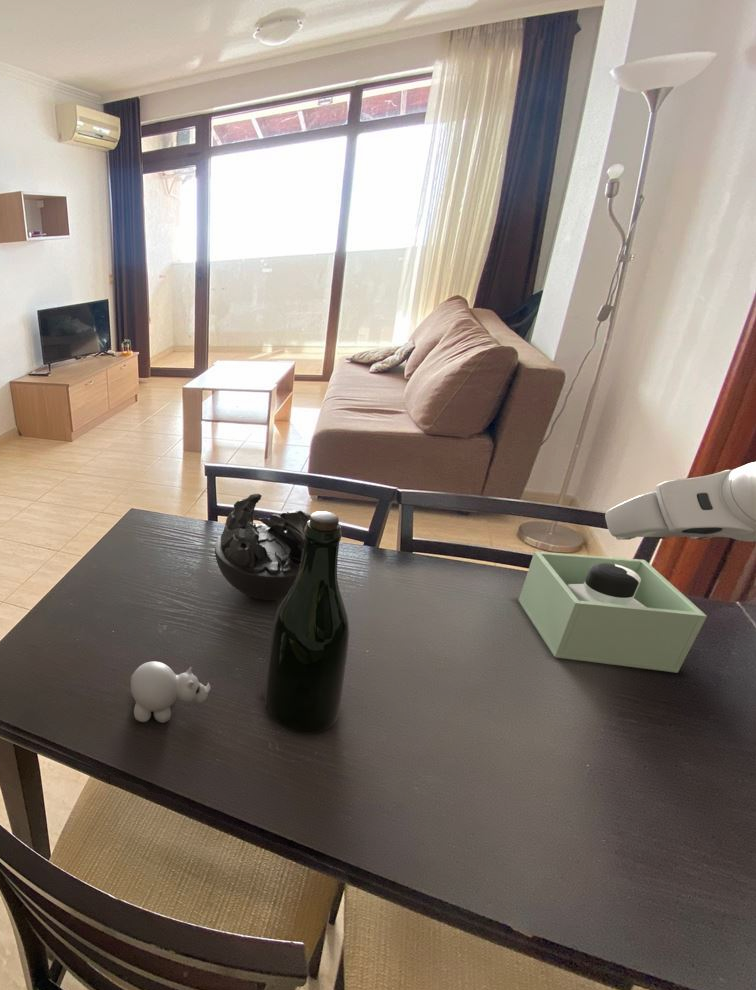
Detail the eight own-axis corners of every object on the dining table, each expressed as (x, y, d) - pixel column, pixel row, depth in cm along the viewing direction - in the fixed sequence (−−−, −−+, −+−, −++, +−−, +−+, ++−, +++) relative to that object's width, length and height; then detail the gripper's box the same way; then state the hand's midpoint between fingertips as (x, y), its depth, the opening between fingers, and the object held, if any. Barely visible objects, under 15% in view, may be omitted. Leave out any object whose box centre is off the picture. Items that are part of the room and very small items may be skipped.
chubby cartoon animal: (211, 731, 79) (213, 688, 75) (130, 727, 81) (127, 684, 77) (208, 694, 85) (209, 653, 82) (133, 691, 87) (130, 650, 83)
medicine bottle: (586, 644, 88) (611, 583, 83) (554, 617, 94) (575, 558, 89) (633, 643, 87) (660, 581, 82) (597, 615, 94) (621, 557, 89)
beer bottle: (350, 706, 81) (385, 512, 67) (317, 749, 75) (348, 545, 61) (285, 673, 88) (305, 491, 74) (251, 709, 82) (265, 518, 68)
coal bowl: (320, 628, 97) (332, 538, 89) (208, 614, 103) (210, 528, 95) (314, 569, 114) (324, 489, 106) (218, 560, 120) (220, 483, 112)
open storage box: (622, 611, 95) (644, 559, 91) (678, 673, 82) (707, 616, 78) (518, 600, 100) (534, 551, 96) (554, 657, 87) (575, 603, 82)
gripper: (843, 478, 65) (732, 513, 78) (649, 481, 68) (574, 514, 81) (865, 528, 63) (748, 555, 76) (664, 529, 66) (585, 555, 79)
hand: (657, 534), depth 78 cm, fingers open, 8 cm apart
